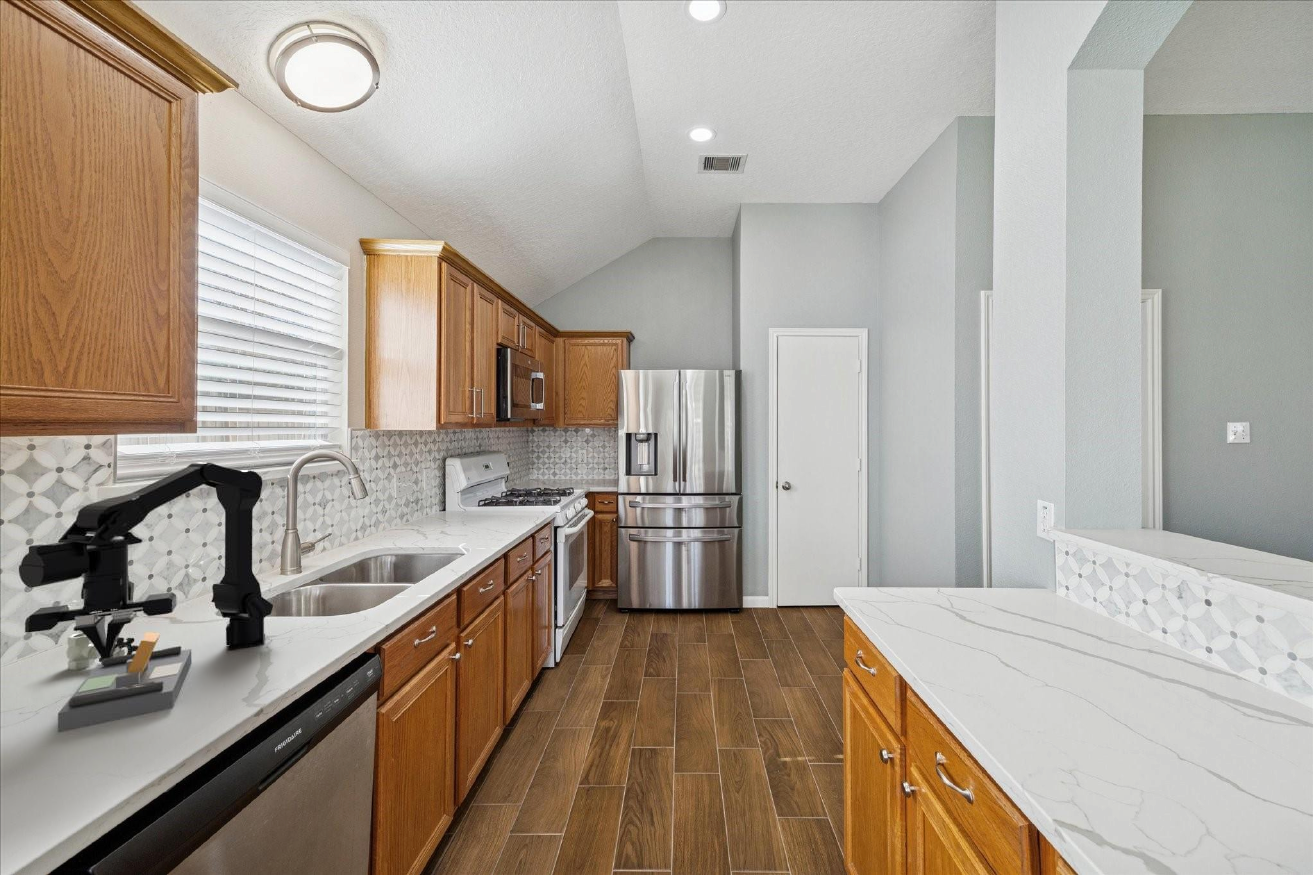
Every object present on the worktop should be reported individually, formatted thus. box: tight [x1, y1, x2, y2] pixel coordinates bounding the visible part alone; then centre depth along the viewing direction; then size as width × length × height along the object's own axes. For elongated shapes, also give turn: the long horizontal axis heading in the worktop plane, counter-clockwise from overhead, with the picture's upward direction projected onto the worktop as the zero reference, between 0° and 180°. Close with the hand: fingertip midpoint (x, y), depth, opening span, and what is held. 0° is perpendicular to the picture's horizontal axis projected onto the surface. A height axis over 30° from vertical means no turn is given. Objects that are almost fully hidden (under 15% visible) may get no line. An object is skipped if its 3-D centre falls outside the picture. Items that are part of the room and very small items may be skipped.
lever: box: [127, 631, 161, 676], centre depth 102 cm, size 2×5×6 cm, turn 34°
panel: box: [57, 645, 192, 733], centre depth 101 cm, size 14×22×5 cm, turn 34°
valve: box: [65, 632, 139, 671], centre depth 112 cm, size 7×7×12 cm
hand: (106, 658), depth 99 cm, fingers closed
